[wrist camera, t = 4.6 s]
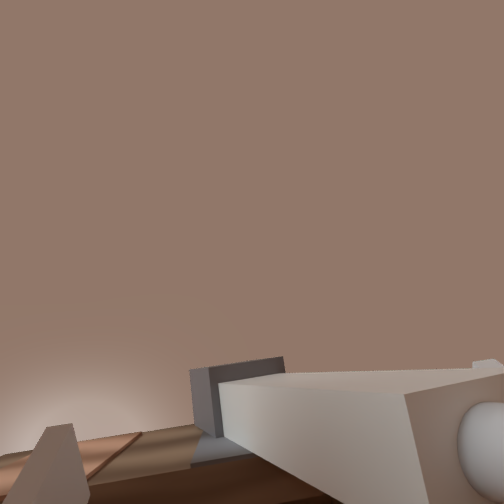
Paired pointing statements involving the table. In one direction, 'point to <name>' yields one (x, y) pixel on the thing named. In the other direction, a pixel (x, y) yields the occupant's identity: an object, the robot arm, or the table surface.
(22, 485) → the robot arm
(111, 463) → the walnut shelf
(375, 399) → the bar
